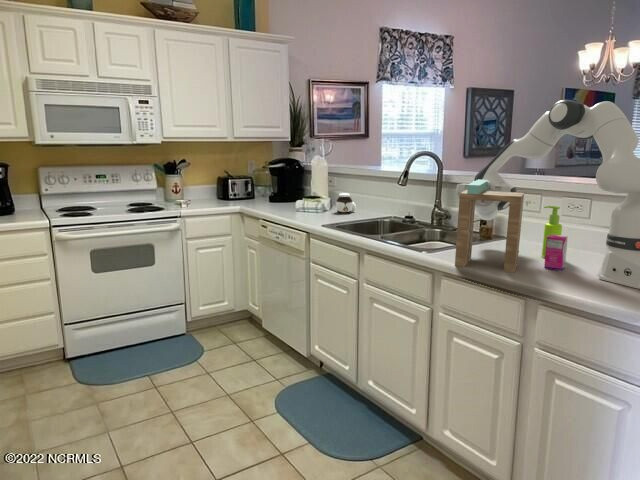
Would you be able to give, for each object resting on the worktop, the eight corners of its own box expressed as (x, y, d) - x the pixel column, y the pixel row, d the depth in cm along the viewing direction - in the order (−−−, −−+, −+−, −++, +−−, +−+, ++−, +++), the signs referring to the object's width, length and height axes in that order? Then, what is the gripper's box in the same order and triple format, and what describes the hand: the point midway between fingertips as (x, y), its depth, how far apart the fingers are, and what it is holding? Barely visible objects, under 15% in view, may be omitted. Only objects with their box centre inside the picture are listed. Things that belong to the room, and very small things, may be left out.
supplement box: (547, 264, 177) (551, 234, 175) (565, 267, 174) (569, 236, 172) (543, 268, 173) (546, 236, 171) (561, 270, 169) (564, 238, 167)
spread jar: (335, 213, 297) (335, 194, 295) (337, 210, 308) (338, 192, 306) (354, 214, 295) (355, 194, 293) (356, 211, 306) (357, 193, 304)
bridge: (461, 257, 187) (466, 189, 182) (517, 263, 179) (524, 192, 174) (454, 265, 175) (459, 193, 170) (514, 272, 166) (521, 196, 161)
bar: (477, 187, 190) (478, 179, 189) (488, 187, 188) (488, 179, 188) (467, 193, 169) (467, 184, 168) (479, 194, 167) (479, 185, 166)
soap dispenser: (542, 254, 193) (547, 204, 189) (560, 258, 188) (566, 206, 184) (536, 257, 189) (541, 206, 185) (554, 260, 184) (560, 207, 180)
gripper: (511, 207, 191) (509, 192, 179) (457, 204, 200) (453, 189, 188) (512, 192, 193) (511, 176, 181) (460, 190, 201) (455, 174, 190)
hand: (481, 183), depth 184 cm, fingers closed on bar, 4 cm apart
